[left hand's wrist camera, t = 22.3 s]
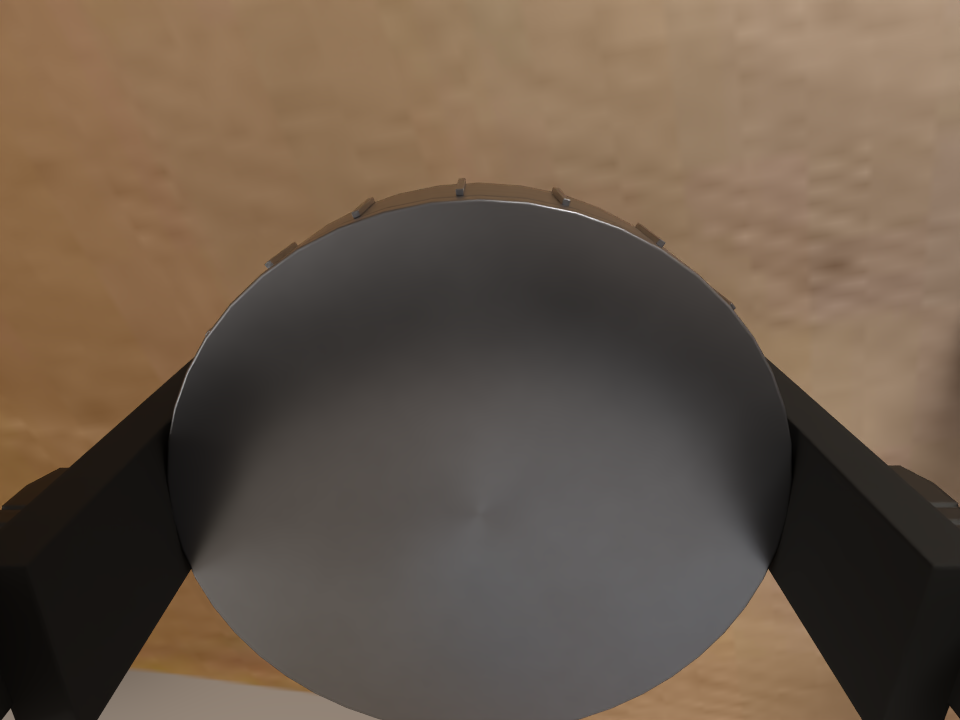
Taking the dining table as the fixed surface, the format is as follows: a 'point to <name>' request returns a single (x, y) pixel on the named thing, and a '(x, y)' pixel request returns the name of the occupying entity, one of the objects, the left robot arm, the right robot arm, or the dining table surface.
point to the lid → (479, 459)
